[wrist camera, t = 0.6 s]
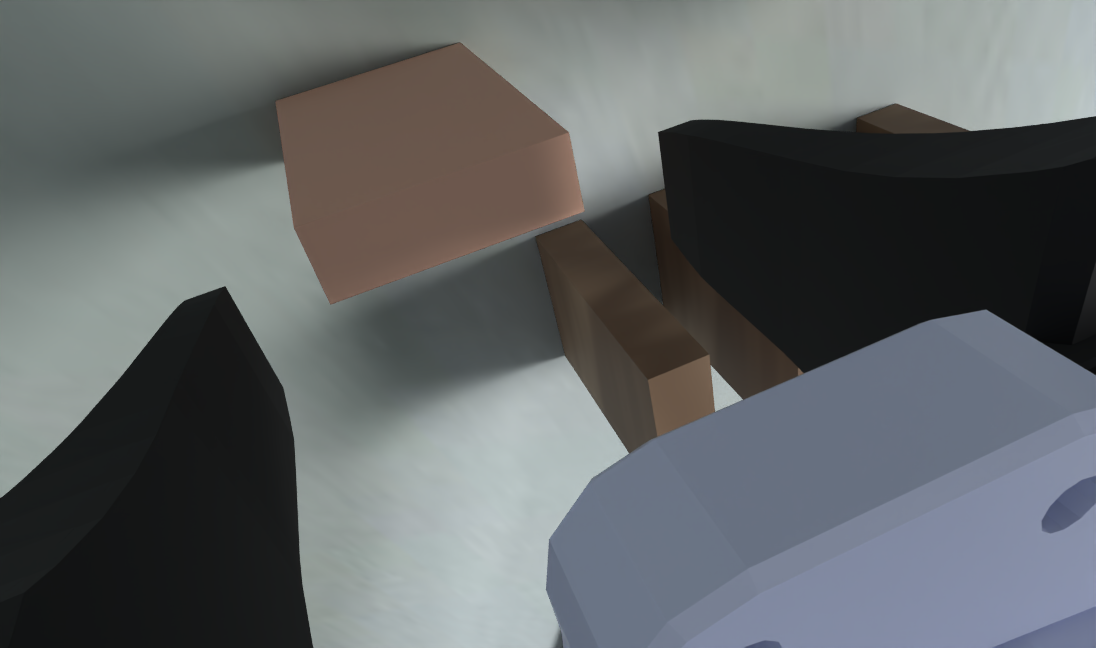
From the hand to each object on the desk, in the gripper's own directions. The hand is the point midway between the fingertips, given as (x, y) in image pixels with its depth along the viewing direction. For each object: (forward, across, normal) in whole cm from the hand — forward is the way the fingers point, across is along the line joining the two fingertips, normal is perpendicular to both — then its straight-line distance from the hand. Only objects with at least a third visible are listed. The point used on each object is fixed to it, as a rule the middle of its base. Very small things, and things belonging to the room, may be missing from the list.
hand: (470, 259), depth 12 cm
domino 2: (+10, -4, +8) cm, 13 cm away
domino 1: (+10, 0, 0) cm, 10 cm away
